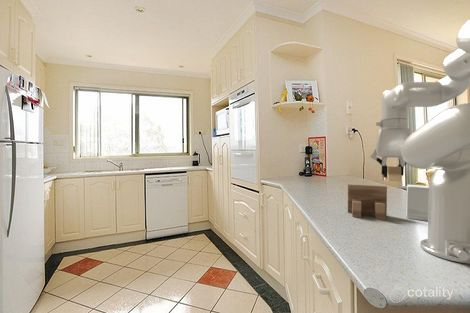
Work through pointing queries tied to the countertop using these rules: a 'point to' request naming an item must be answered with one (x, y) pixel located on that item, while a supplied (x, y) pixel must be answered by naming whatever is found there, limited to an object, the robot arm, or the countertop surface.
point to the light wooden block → (393, 174)
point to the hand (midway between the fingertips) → (392, 176)
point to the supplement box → (417, 202)
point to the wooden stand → (367, 200)
